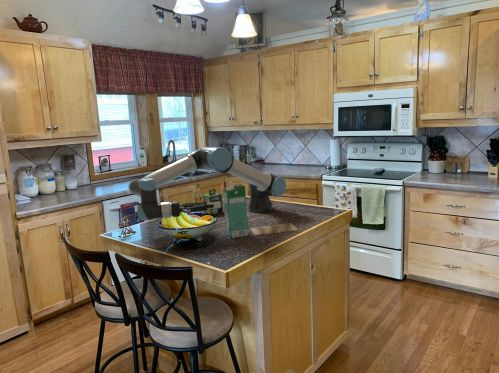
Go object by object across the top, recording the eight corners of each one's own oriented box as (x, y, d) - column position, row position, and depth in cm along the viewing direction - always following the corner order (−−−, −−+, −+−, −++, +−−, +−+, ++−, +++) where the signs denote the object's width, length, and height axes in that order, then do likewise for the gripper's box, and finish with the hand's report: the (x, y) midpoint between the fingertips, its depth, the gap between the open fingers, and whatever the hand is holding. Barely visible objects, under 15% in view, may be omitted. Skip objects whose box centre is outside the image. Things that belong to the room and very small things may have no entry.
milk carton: (225, 233, 198) (222, 185, 193) (242, 230, 201) (239, 183, 196) (231, 238, 190) (227, 188, 185) (248, 235, 192) (245, 185, 188)
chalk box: (215, 209, 248) (213, 187, 245) (223, 212, 241) (222, 188, 238) (203, 212, 243) (201, 189, 240) (211, 215, 236) (209, 191, 233)
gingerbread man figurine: (122, 237, 203) (119, 215, 201) (117, 236, 205) (114, 214, 203) (136, 232, 210) (133, 211, 208) (131, 231, 212) (129, 210, 210)
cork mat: (254, 235, 191) (254, 234, 191) (250, 228, 203) (250, 227, 203) (297, 230, 195) (297, 229, 195) (291, 224, 206) (291, 223, 206)
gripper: (172, 213, 194) (219, 209, 198) (171, 220, 181) (222, 215, 185) (170, 199, 192) (218, 194, 196) (170, 204, 180) (221, 199, 184)
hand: (220, 204), depth 191 cm, fingers closed
